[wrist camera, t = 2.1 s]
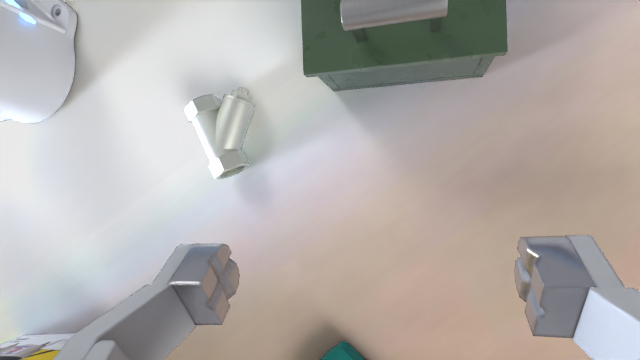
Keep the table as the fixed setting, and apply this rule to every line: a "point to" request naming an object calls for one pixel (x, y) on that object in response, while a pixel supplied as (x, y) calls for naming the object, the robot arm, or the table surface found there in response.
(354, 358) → the digital multimeter
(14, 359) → the packaging box
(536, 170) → the table surface
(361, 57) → the lid
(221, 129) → the pipe fitting
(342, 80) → the box
